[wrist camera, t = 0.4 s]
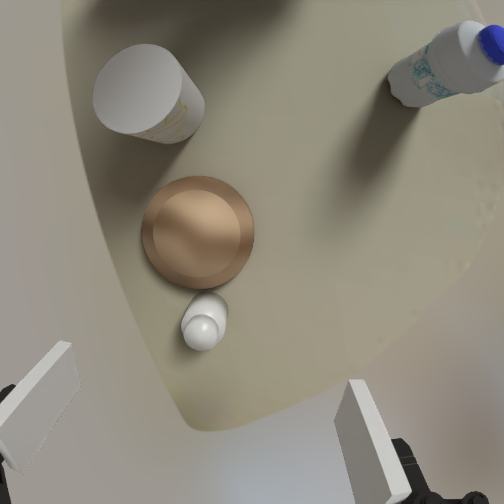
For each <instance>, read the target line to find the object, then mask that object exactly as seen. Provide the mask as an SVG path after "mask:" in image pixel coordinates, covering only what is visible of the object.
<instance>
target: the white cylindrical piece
mask: <svg viewBox="0 0 504 504" xmlns="http://www.w3.org/2000/svg"><path fill="white" fill-rule="evenodd" d="M92 100H93V107H94V110H95V113H96V115H97V117H98V119H99V120H100V121H101V122H102V123H103V124H104V125H105V126H106V127H107V128H109V129H111V130H113V131H115V132H119V133H123V134H127V135H131V136H135V137H139V138H143V139H147V140H151V141H155V142H159V143H163V144H174V143H178V142H181V141H183V140H185V139H187V138H189V137H190V136H191V135H192V134H194V133H195V131H196V130H197V129H198V128H199V126H200V124H201V123H202V120H203V117H204V113H205V103H204V99H203V96H202V94H201V92H200V91H199V90H198V88H197V87H196V85H195V84H194V83H193V81H192V80H191V79H190V77H189V76H188V75H187V73H186V72H185V70H184V69H183V68H182V66H181V65H180V64H179V62H178V61H177V60H176V58H175V57H174V56H173V55H172V54H171V53H170V52H169V51H168V50H166V49H165V48H163V47H160V46H157V45H153V44H138V45H134V46H130V47H128V48H125V49H123V50H121V51H120V52H118V53H117V54H115V55H114V56H113V57H112V58H110V59H109V60H108V61H107V62H106V64H105V65H104V66H103V67H102V69H101V70H100V72H99V74H98V76H97V78H96V81H95V84H94V87H93V95H92Z"/></svg>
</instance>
